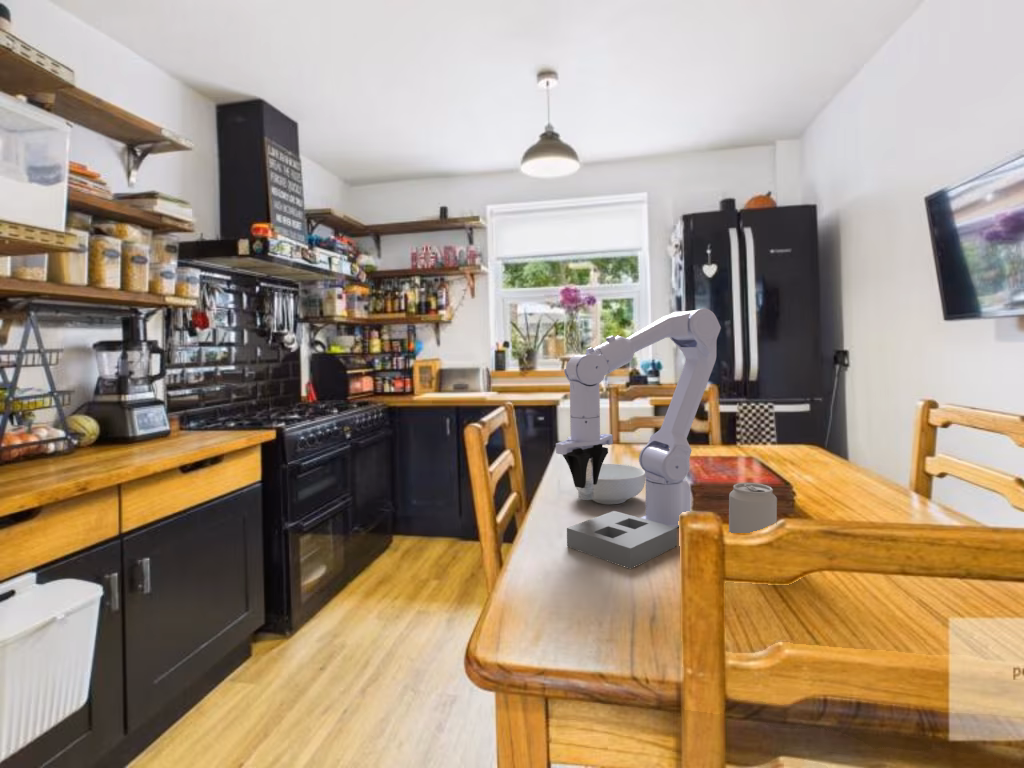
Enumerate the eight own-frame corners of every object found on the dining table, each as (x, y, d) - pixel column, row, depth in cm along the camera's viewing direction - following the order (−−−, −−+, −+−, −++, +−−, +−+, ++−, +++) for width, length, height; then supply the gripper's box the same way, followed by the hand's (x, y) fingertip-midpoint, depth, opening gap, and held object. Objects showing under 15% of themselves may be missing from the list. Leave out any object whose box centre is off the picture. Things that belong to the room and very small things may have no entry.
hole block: (614, 527, 107) (614, 510, 107) (676, 546, 97) (676, 527, 97) (567, 546, 98) (566, 527, 98) (630, 569, 88) (630, 548, 87)
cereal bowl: (640, 490, 134) (640, 462, 134) (650, 510, 118) (650, 479, 117) (572, 489, 136) (572, 462, 136) (573, 510, 120) (573, 479, 119)
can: (748, 565, 88) (749, 494, 87) (719, 549, 95) (720, 482, 94) (786, 559, 90) (787, 489, 89) (754, 543, 97) (755, 479, 96)
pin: (585, 494, 107) (584, 455, 106) (596, 497, 105) (596, 457, 104) (575, 497, 105) (574, 457, 104) (586, 500, 103) (586, 459, 102)
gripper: (593, 411, 111) (594, 475, 112) (543, 418, 102) (545, 488, 103) (620, 413, 106) (621, 481, 107) (571, 422, 97) (572, 495, 97)
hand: (585, 485), depth 105 cm, fingers closed on pin, 3 cm apart
